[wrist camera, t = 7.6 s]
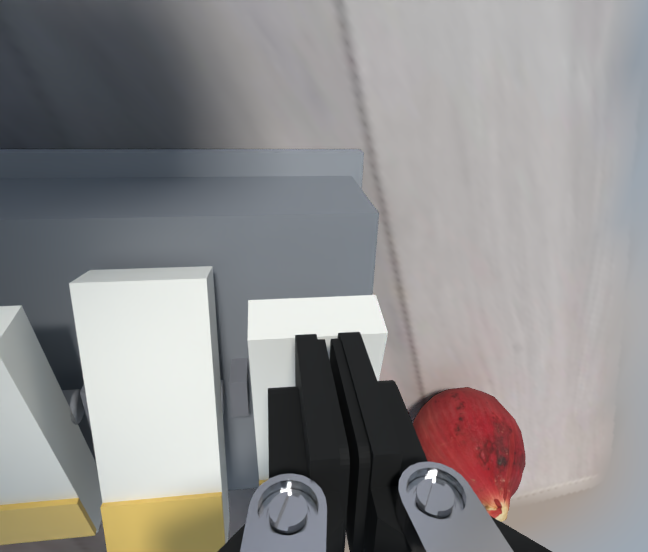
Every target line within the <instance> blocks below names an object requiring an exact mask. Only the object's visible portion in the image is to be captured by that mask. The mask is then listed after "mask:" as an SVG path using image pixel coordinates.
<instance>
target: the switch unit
mask: <svg viewBox="0 0 648 552" xmlns="http://www.w3.org/2000/svg"><path fill="white" fill-rule="evenodd" d="M363 159H364V152H363V151H362V150H361V149H0V306H21V305H22V307H23V309H24V311H25V314H26V316H27V318H28V320H29V322H30V324H31V326H32V328H33V330H34V333H35V335H36V337H37V339H38V341H39V343H40V345H41V347H42V350H43V352H44V354H45V356H46V358H47V360H48V362H49V364H50V367H51V369H52V371H53V373H54V375H55V377H56V379H57V381H58V383H59V386H60V388H61V390H74V389H80V390H81V391H80V395H81V399H82V402H83V406H84V414H83V417H82V420H81V421H80V423H79V424H78V426H79V428H80V430H81V432H82V434H83V437H84V439H85V441H86V443H87V445H88V447H89V449H90V451H91V453H92V456H93V458H94V460H95V462H96V457H95V451H94V444H93V438H92V431H91V424H90V418H89V411H88V405H87V398H86V392H85V385H84V379H83V372H82V366H81V359H80V353H79V346H78V339H77V333H76V326H75V320H74V313H73V307H72V300H71V294H70V287H69V283H70V282H72V281H73V280H75V279H77V278H78V277H80V276H81V275H83V274H85V273H86V272H88V271H89V270H105V269H136V268H168V267H199V266H213V278H214V293H215V308H216V323H217V337H218V352H219V367H220V380H223V381H224V390H225V406H224V414H223V425H224V440H225V455H226V469H227V484H228V490H239V489H249V488H258V487H259V472H258V460H257V448H256V436H255V424H254V412H253V400H252V389H251V377H250V365H249V353H248V341H247V339H248V300H264V299H288V298H312V297H336V296H360V295H372V293H373V281H374V269H375V257H376V244H377V232H378V220H379V212H378V211H377V210H376V208H375V207H374V206H373V204H372V203H371V202H370V200H369V199H368V197H367V196H366V195H365V193H364V192H363V191H362V176H363Z"/></svg>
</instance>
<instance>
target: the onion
mask: <svg viewBox="0 0 648 552" xmlns="http://www.w3.org/2000/svg"><path fill="white" fill-rule="evenodd" d="M413 426H414V429H415V431H416V434H417V436H418V438H419V441H420V443H421V446H422V448H423V451H424V453H425V456H426V458H427V460H428V462H435V463H441V464H443V465H446V466H448V467H450V468H452V469H454V470H455V471H456V472H458V473H459V474H461V475H462V476H463V478H464V479H465V480H466V481H467V482H468V483H469V485H470V486H471V488H472V489H473V491H474V492H475V494H476V495H477V497H478V498H479V500H480V501H481V503H482V504H483V506H484V507H485V509H486V510H487V512H488V513H489V515H490V516H492V517H493V518H495V519H497V520H499V521H500V522H502V521H504V520H506V519H507V513H508V510H509V504H510V498H511V496H512V495H513V494H514V493H515V492H516V490H517V489H518V487H519V484H520V482H521V478H522V473H523V470H524V467H525V450H524V443H523V439H522V434H521V431H520V429H519V427H518V425H517V423H516V421H515V419H514V418H513V417H512V416H511V415H510V413H509V412H508V411H507V410H506V409H505V408H504V407H503V406H502V405H501V404H500V403H499V402H498V400H497V399H496V398H495V397H493V396H491V395H489V394H487V393H484V392H482V391H478V390H475V389H472V388H469V387H464V388H456V389H448V390H445V391H443V392H441V393H439V394H437V395H435V396H433V397H432V398H431V399H430V400H429V401H428V402H427V403H426V404H425V405H424V406H423V407H422V408H421V409H420V411H419V413H418V414H417V416H416V417H415V419H414V422H413Z"/></svg>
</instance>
